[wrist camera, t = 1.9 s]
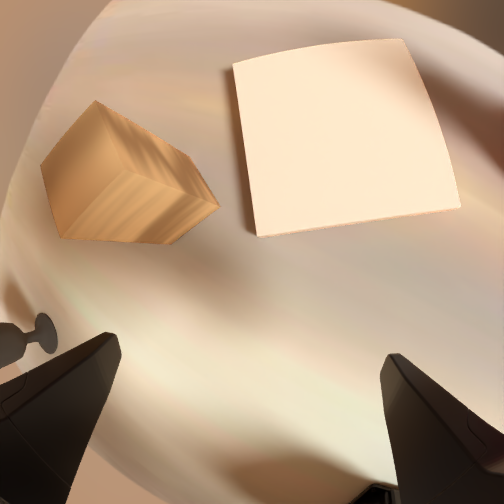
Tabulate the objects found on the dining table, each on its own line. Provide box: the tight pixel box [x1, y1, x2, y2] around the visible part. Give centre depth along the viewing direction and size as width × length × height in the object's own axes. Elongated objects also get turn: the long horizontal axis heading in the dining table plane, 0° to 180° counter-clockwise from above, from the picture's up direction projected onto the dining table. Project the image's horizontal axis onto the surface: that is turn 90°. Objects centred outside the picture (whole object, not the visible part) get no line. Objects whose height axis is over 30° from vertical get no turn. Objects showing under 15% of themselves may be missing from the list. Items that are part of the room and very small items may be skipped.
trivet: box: [233, 39, 461, 238], centre depth 18 cm, size 14×14×2 cm
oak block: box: [40, 100, 221, 244], centre depth 17 cm, size 5×5×11 cm
